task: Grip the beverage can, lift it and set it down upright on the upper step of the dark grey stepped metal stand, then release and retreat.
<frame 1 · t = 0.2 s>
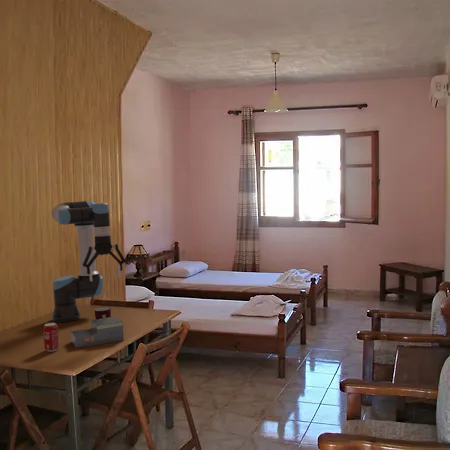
hand: (105, 279, 266), 28 cm above the table, fingers open, 13 cm apart
beverage can: (52, 350, 249), on the table
stand: (99, 340, 261), on the table
mug: (102, 329, 283), on the table
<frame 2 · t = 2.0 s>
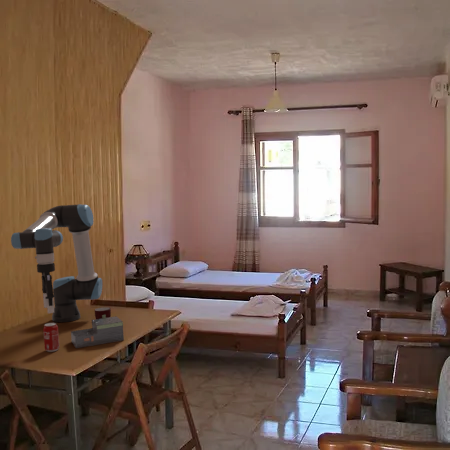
hand: (49, 310, 248), 18 cm above the table, fingers open, 13 cm apart
nothing on the table moved.
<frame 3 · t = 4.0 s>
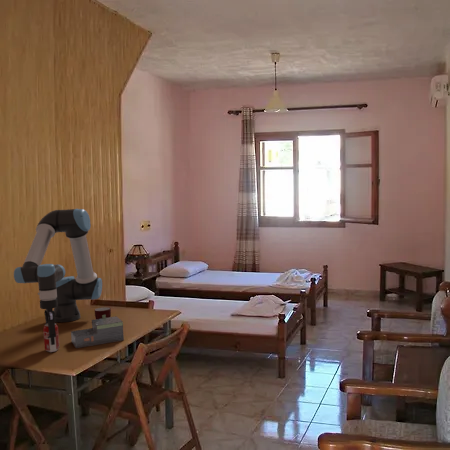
hand: (52, 349, 249), 0 cm above the table, fingers closed on beverage can, 6 cm apart
beverage can: (52, 350, 249), on the table, touching gripper
everything else where it was.
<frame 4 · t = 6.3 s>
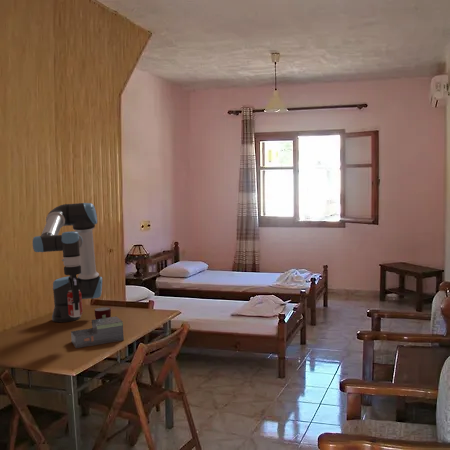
hand: (75, 315, 254), 14 cm above the table, fingers closed on beverage can, 6 cm apart
beverage can: (75, 316, 254), point 13 cm above the table, touching gripper
everything else where it was.
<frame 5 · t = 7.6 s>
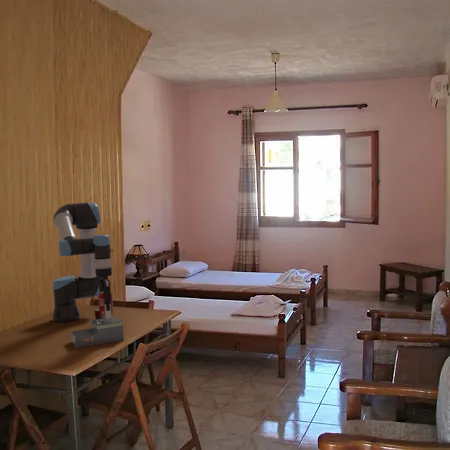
hand: (106, 315, 262), 11 cm above the table, fingers closed on beverage can, 6 cm apart
beverage can: (106, 317, 262), point 11 cm above the table, touching gripper
everything else where it was.
when the fingers open (11 cm above the table, at t = 8.4 s): beverage can drops 1 cm, resting on stand.
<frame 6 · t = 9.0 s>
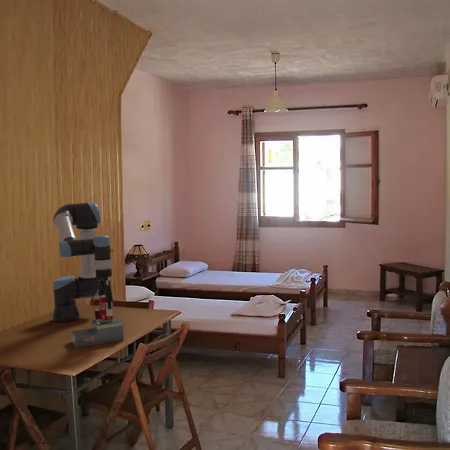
hand: (106, 313, 262), 13 cm above the table, fingers open, 13 cm apart
beverage can: (107, 321, 262), point 9 cm above the table, touching stand
everything else where it was.
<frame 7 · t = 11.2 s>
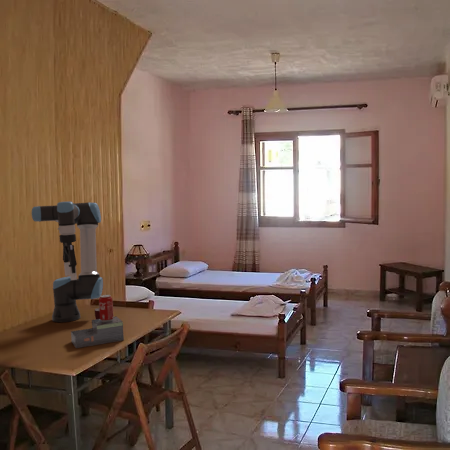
hand: (70, 277, 267), 29 cm above the table, fingers open, 13 cm apart
nothing on the table moved.
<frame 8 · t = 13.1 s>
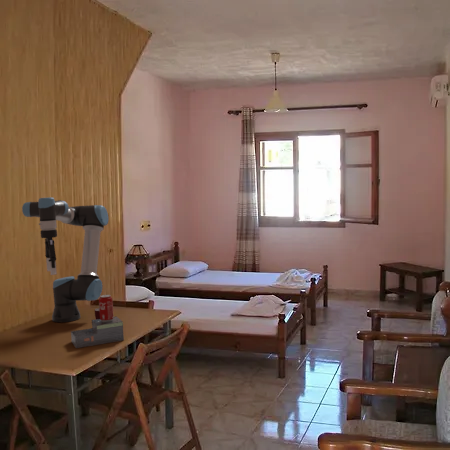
hand: (51, 272, 270), 32 cm above the table, fingers open, 13 cm apart
nothing on the table moved.
at the end: beverage can inside the target area on the stand (0.0 cm from its centre), point 8.8 cm above the stand's base; beverage can tilted 0°; the gripper is holding nothing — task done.
